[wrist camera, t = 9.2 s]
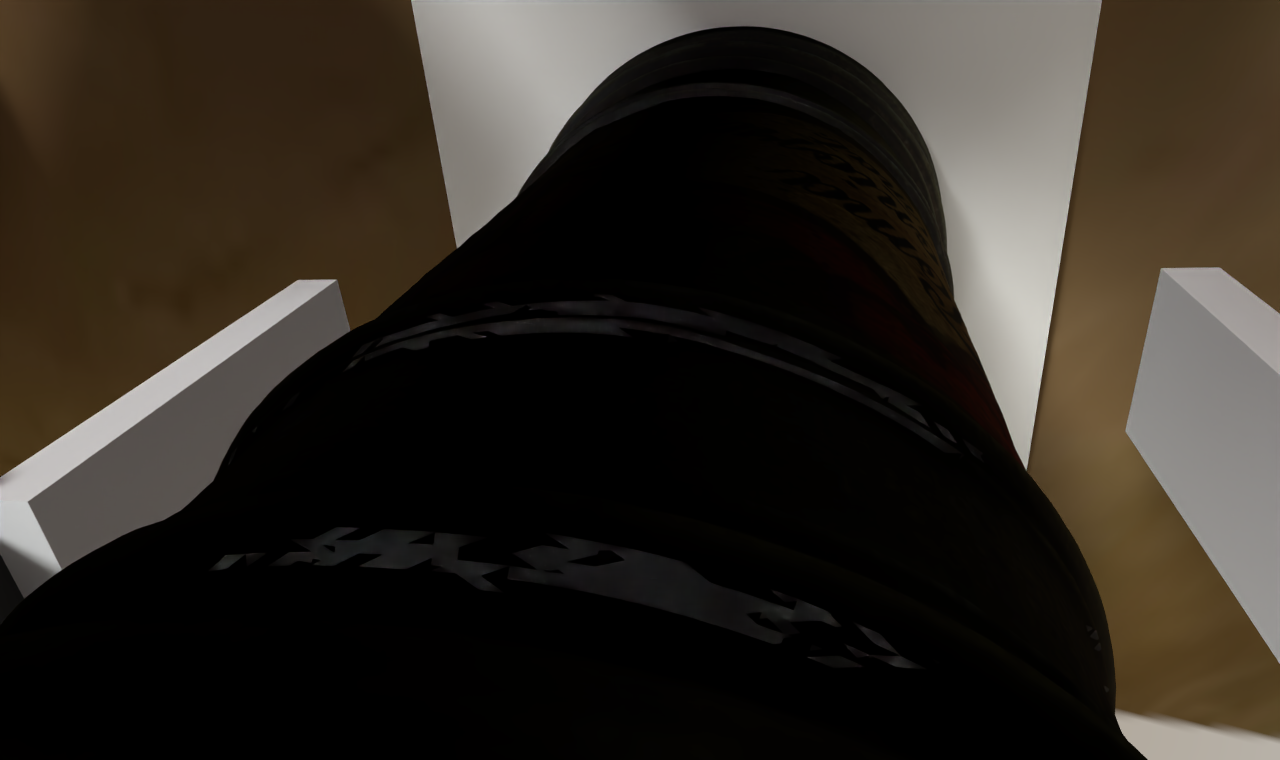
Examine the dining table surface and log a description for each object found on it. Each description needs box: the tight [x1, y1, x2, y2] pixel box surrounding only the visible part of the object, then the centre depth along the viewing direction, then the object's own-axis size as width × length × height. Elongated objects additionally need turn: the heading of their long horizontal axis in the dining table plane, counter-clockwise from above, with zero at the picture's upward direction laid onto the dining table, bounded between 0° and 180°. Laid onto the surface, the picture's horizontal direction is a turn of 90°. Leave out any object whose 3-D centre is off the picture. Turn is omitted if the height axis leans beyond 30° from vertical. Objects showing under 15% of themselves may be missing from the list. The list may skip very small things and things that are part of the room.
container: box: [0, 26, 1147, 760], centre depth 11 cm, size 9×9×18 cm
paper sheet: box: [411, 0, 1102, 471], centre depth 19 cm, size 14×14×1 cm
